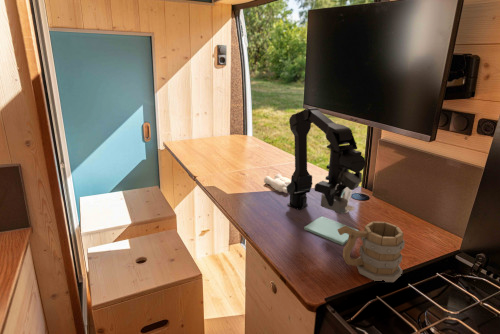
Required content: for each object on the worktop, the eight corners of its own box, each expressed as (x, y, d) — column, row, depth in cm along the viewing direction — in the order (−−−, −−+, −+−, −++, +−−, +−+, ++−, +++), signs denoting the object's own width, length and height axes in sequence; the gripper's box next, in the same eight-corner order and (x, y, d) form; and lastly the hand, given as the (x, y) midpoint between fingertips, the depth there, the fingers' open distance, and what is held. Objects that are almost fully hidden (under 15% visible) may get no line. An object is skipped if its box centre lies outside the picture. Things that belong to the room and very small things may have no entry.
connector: (318, 205, 128) (319, 195, 127) (324, 202, 131) (325, 192, 129) (349, 216, 120) (350, 205, 119) (354, 212, 123) (356, 202, 121)
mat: (304, 229, 130) (304, 226, 130) (321, 218, 139) (321, 216, 138) (342, 245, 120) (342, 242, 120) (358, 232, 128) (359, 230, 128)
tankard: (391, 258, 113) (398, 216, 108) (406, 283, 101) (414, 238, 96) (329, 256, 114) (333, 215, 109) (337, 281, 102) (342, 236, 97)
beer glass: (329, 208, 147) (332, 175, 142) (343, 205, 150) (346, 173, 145) (339, 215, 141) (342, 181, 136) (353, 212, 144) (357, 178, 139)
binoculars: (280, 180, 178) (281, 172, 176) (300, 191, 165) (300, 182, 163) (263, 184, 173) (263, 175, 171) (282, 196, 160) (282, 186, 158)
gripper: (345, 176, 109) (340, 220, 114) (371, 162, 122) (366, 202, 127) (315, 167, 116) (312, 209, 121) (343, 155, 129) (339, 194, 134)
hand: (333, 204), depth 126 cm, fingers closed on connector, 4 cm apart
